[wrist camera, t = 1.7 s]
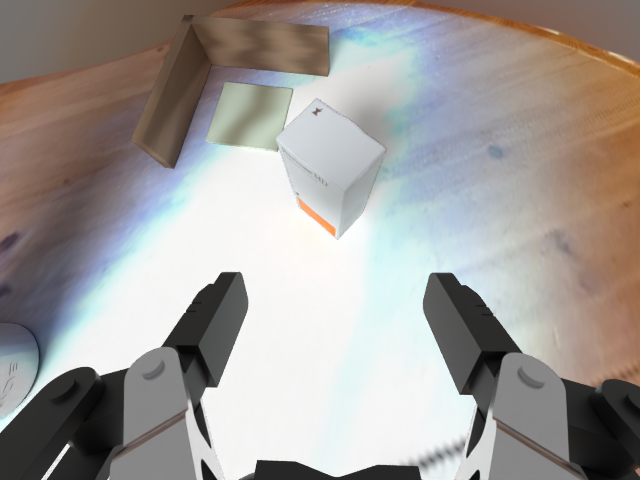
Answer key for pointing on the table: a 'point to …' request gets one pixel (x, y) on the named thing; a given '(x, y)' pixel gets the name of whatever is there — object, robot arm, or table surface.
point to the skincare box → (329, 166)
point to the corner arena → (236, 99)
